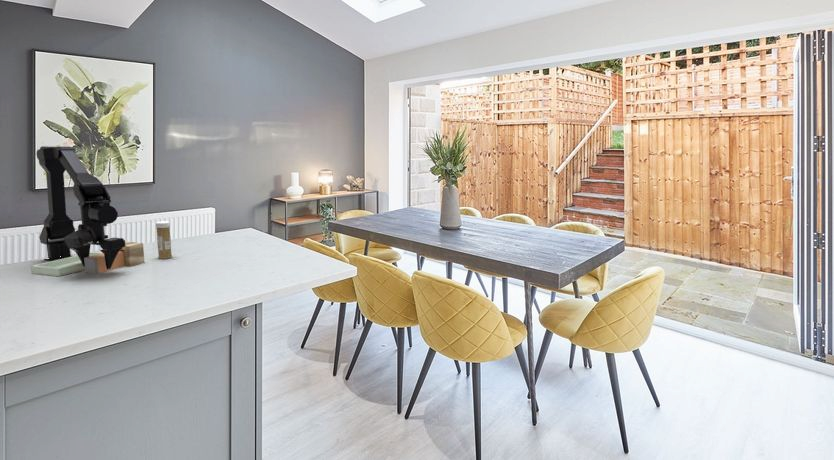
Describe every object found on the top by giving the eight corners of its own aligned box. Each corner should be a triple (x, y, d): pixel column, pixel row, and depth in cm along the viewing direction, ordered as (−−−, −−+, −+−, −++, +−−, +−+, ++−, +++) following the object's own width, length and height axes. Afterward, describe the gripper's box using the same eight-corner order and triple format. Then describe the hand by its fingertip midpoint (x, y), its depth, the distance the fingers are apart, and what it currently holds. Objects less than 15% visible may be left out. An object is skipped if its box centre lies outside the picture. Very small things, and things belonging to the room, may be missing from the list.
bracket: (108, 264, 160) (107, 244, 159) (123, 260, 166) (121, 241, 164) (130, 266, 158) (128, 246, 157) (144, 262, 164) (143, 243, 162)
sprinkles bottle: (172, 258, 170) (170, 222, 168) (158, 259, 168) (156, 223, 165) (171, 255, 174) (169, 220, 172) (157, 257, 172) (155, 221, 169)
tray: (31, 273, 146) (30, 265, 146) (93, 258, 167) (92, 251, 167) (59, 276, 144) (58, 269, 144) (118, 260, 165) (117, 254, 164)
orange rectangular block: (85, 272, 149) (83, 257, 148) (122, 262, 162) (121, 248, 161) (95, 274, 148) (94, 258, 147) (131, 263, 161) (130, 249, 160)
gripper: (44, 222, 142) (49, 271, 145) (93, 226, 138) (98, 276, 141) (78, 217, 153) (82, 263, 156) (124, 221, 149) (128, 267, 151)
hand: (97, 267), depth 150 cm, fingers open, 9 cm apart
